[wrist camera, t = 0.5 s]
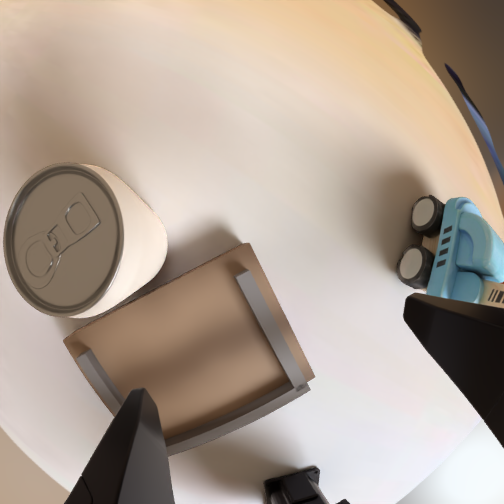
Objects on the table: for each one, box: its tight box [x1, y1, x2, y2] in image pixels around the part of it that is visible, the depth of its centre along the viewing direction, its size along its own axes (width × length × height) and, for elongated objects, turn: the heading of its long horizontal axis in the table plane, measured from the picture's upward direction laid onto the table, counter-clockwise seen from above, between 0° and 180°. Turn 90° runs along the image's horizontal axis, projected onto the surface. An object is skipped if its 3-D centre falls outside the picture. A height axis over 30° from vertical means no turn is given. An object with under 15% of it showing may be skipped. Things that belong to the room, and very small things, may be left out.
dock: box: [63, 243, 315, 456], centre depth 19 cm, size 12×16×4 cm
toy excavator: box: [397, 195, 504, 308], centre depth 17 cm, size 9×17×17 cm, turn 159°
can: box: [3, 162, 168, 318], centre depth 14 cm, size 6×6×12 cm
